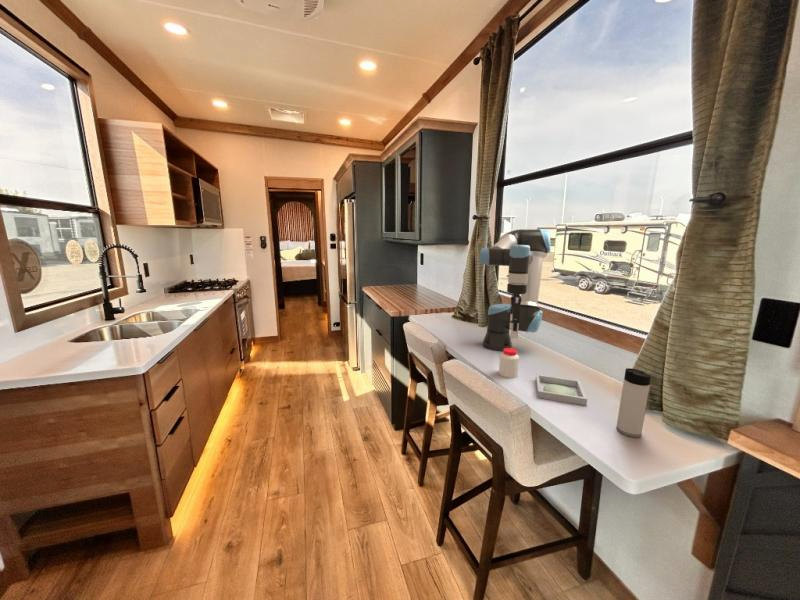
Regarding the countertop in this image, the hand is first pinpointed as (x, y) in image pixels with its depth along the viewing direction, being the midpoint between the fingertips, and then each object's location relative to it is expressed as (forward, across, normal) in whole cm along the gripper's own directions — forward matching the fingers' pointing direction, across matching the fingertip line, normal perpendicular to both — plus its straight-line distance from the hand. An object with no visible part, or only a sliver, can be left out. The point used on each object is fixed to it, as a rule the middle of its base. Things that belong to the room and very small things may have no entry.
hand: (513, 333), depth 133 cm
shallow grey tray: (+19, +10, +18) cm, 28 cm away
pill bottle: (+19, -1, -1) cm, 19 cm away
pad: (+19, +10, +18) cm, 28 cm away
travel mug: (+19, +32, +33) cm, 50 cm away
